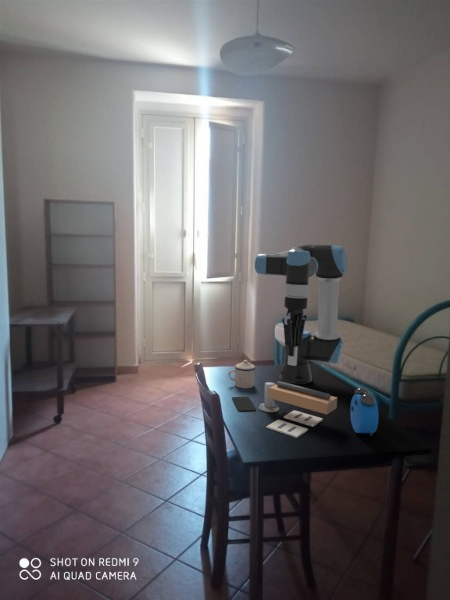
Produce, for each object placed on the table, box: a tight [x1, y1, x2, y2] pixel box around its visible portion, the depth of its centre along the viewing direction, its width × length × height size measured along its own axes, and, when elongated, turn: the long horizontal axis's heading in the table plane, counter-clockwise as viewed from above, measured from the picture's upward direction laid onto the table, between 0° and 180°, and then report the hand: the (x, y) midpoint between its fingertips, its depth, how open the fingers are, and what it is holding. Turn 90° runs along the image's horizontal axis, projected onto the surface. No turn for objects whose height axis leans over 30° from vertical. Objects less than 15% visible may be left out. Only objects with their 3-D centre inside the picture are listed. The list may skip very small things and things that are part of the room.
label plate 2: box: [283, 409, 324, 427], centre depth 166 cm, size 8×12×1 cm, turn 52°
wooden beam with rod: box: [263, 380, 338, 415], centre depth 167 cm, size 28×8×11 cm, turn 52°
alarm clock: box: [349, 386, 379, 437], centre depth 156 cm, size 13×6×15 cm, turn 0°
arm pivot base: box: [258, 402, 280, 414], centre depth 175 cm, size 8×8×1 cm
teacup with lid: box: [227, 359, 256, 389], centre depth 200 cm, size 12×9×12 cm
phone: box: [231, 396, 257, 413], centre depth 179 cm, size 7×1×15 cm
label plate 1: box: [266, 419, 309, 439], centre depth 157 cm, size 8×12×1 cm, turn 52°
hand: (292, 364), depth 153 cm, fingers closed
